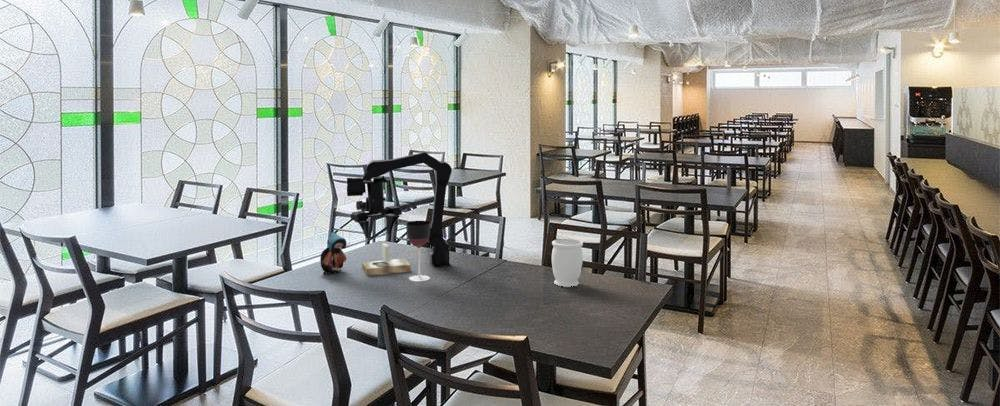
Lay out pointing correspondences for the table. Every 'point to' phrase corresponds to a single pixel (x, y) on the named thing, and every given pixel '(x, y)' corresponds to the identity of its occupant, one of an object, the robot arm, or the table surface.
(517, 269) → the table surface
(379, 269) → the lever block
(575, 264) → the jar
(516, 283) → the table surface
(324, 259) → the figurine
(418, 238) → the wineglass
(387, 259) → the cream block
